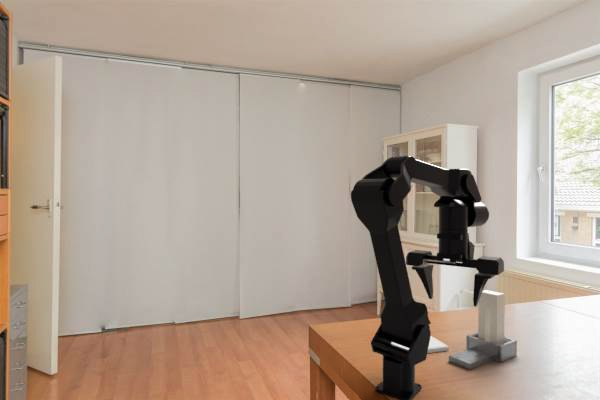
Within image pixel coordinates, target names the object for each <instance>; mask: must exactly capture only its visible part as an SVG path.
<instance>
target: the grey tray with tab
mask: <svg viewBox="0 0 600 400" xmlns="http://www.w3.org/2000/svg"><path fill="white" fill-rule="evenodd" d="M517 340H518V339H517ZM517 340H516V339H513V338H510V337H506V336H504V344H501V345H497V344H494V343H491V342H488V341H485V340H482V339H479V338H478V331H476V332H474V333H470V334H466V346H465V347H466V349H464V350H461V351H458V352H455V353H452V354H449V355H448V362H450V363H452V364H455V365H457V366H460V367H462V368H465V369H467V370H473V369H475V368H478V367H480V366H483V365H485V364H487V363H491V362H492V361H496V362H498V363H503V362H505V361H508V360H510V359H512V358H514V357H517V353H518V348H517V346H518V342H517Z"/></svg>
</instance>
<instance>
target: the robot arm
mask: <svg viewBox="0 0 600 400" xmlns="http://www.w3.org/2000/svg"><path fill="white" fill-rule="evenodd" d="M412 183H414V184H416V185H421V186H424V187H428V188H430V191H431V192H432V193H433V194H435V195H436V196H438V197H439V199H437V200H436V201H435V202H434V203H433V207H434V208H438V233H436V239H437V240H438V252H436V255H435V254H432V251H430V250H421V249H415V250H413V251H412V250H411V251H409V252H408V253H407V254H406V256H405V255H404V250H403V244H402V240H401V234H400V231H399V223H400V221H401V218H402V217H403V214H404V209H405V208H404V200H405V198H406V197H407V196H408V195H409V193H410V192H411V190H412ZM350 199H351V200H350V201H351V203H352V204H351V205H352V207H353V209H354V211H355V214H356V216H357V218H358V220H359V221H360V222H361V223H362V224H363V226H364V227H365V228H366V229H367V230H368V232H369V236H370V240H371V243H372V250H373V253H374V257H375V263H376V266H377V270H378V271H377V272H378V274H379V279H380V284H381V289H382V292H383V297H384V305H383V306H384V307H383V308H382V311H381V313H380V325H379V327H378V329H377V331H376V332H375V334H374V335H373V338H372V339H371V341H370V346H371V350H372V352H373V353H376V354H379V355H381V356H382V380H381V381H380V382H379V383H378V384H377V385H376V386H375V387H374V389H375V390H374V391H376V392H378V393H380V394H381V393H382V394H385V395H387V396H390V397H393V398H396V399H399V400H411V399H412V398H414V397H415V396H416V395H417V394H418V392H419V393H420V391H421V389H422V388H423V387H422V384H420V383H416V365H418V364H420V363H422V362H424V361H426V360H427V357H428V356H427V354H428V353H427V351H428V346H429V341H430V336H432V335H431V334H432V333H431V332H432V331H431V328H430V325H431V321H430V318H429V315H428V307H427V305H426V303H423V302H418V301H416V300H415V298H414V297H413V293H412V288H411V287H412V286H411V282H410V279H409V272H408V269H407V266H411V270H413V271H416V274H417V275H418V277H419V279H420V280H421V283H422V284H423V287H424V289H425V292H426V294H427V298H428V299H429V300H433V298H434V283H433V270H434V265H443V266H450V267H461V268H471V269H475V270H476V271H478V272H477V273H475V274H474V277H473V278H474V279H473V281H474V282H473V298H472V300H473V307H478V305H479V299H480V296H481V294H482V291H483V290H485V289H484V288H485V287H486V286H485V285H486V284H487V282H488V281H489V279H492V278H494V277H495V276H499V275H500V274H502V273H503V272H505V263H504V260H503V258H502V257H497V256H486V255H482V256H480V257H477V258H476V259H475V257H474V256H475V255H474V254H475V247H476V246H475V244H474V243H473V242H472V241H470V234H469V232H468V231H469V230H468V229H469V228H474V227H481V226H483V225H485V224H486V223H487V221H489V218H490V211H489V210H488V207H487V205H485V204H484V203H483V202H481V201H482V196H481V193H480V191H479V187H478V185H477V182H476V179H475V176H474V175H473V174H472V172H471V170H469V169H468V168H443V167H441V166H438V165H435V164H432V163H428V162H425V161H422V160H420V159H417V158H416V157H414V156H411V155H400V156H391V157H389V158H387V159H386V160H385V161H383V163H382V164H381V165H380V166H378V167H376V168H375V169H373V170H372V171H370V172H368V173H367V174H365V175H364V176H363V177H362V179H359V180H358V181H357V182H356V183H355V184H354V187H352V190H351V191H350ZM444 259H445V260H444ZM391 342H394V343H397V344H399V345H402V346H405V347H408V348H409V350H407V349H404V348H401V347H398V346H395V345H393V344H391Z"/></svg>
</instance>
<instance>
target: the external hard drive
mask: <svg viewBox="0 0 600 400" xmlns="http://www.w3.org/2000/svg"><path fill="white" fill-rule="evenodd" d="M391 344H393V345H395V346H398V347H401V348H404V349H407V350H409V348H408V347H405V346H402V345H399V344H397V343H394V342H391ZM449 347H450V346H448V345H447V344H446V343H444V342H443V341H441V340H438V339H437V338H435V337H434V336H432V335H431V336H430V341H429V346H428V351H427V354H432V353H440V352H449Z"/></svg>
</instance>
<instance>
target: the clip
mask: <svg viewBox="0 0 600 400" xmlns="http://www.w3.org/2000/svg"><path fill="white" fill-rule="evenodd" d="M505 298H506V295H505V293H504V292H499V291H492V290H490V289H489V290H488V289H483V291H482V294H481V296H480V299H479V302H478V316H477V317H478V325H477V326H478V327H477V329H478V331H477V332H478V338H479V339H482V340H485V341H488V342H491V343H494V344H497V345H501V344H504V337H505V314H506V313H505V312H506V311H505V310H506V309H505V308H506V307H505V305H506V303H505V301H506V299H505Z"/></svg>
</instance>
